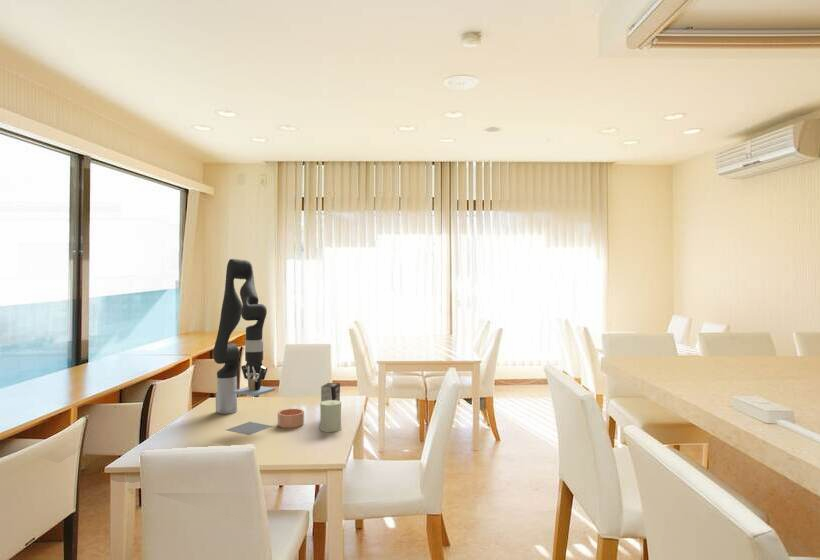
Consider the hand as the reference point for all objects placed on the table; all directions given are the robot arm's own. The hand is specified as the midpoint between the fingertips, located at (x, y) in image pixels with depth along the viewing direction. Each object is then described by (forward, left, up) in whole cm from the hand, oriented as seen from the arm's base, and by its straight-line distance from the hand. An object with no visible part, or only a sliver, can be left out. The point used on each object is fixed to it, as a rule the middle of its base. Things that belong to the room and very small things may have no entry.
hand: (254, 389), depth 224 cm
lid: (0, 0, -1) cm, 1 cm away
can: (+29, +16, -17) cm, 38 cm away
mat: (-2, -1, -17) cm, 17 cm away
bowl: (+11, +11, -17) cm, 23 cm away
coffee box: (+20, +28, -18) cm, 39 cm away
